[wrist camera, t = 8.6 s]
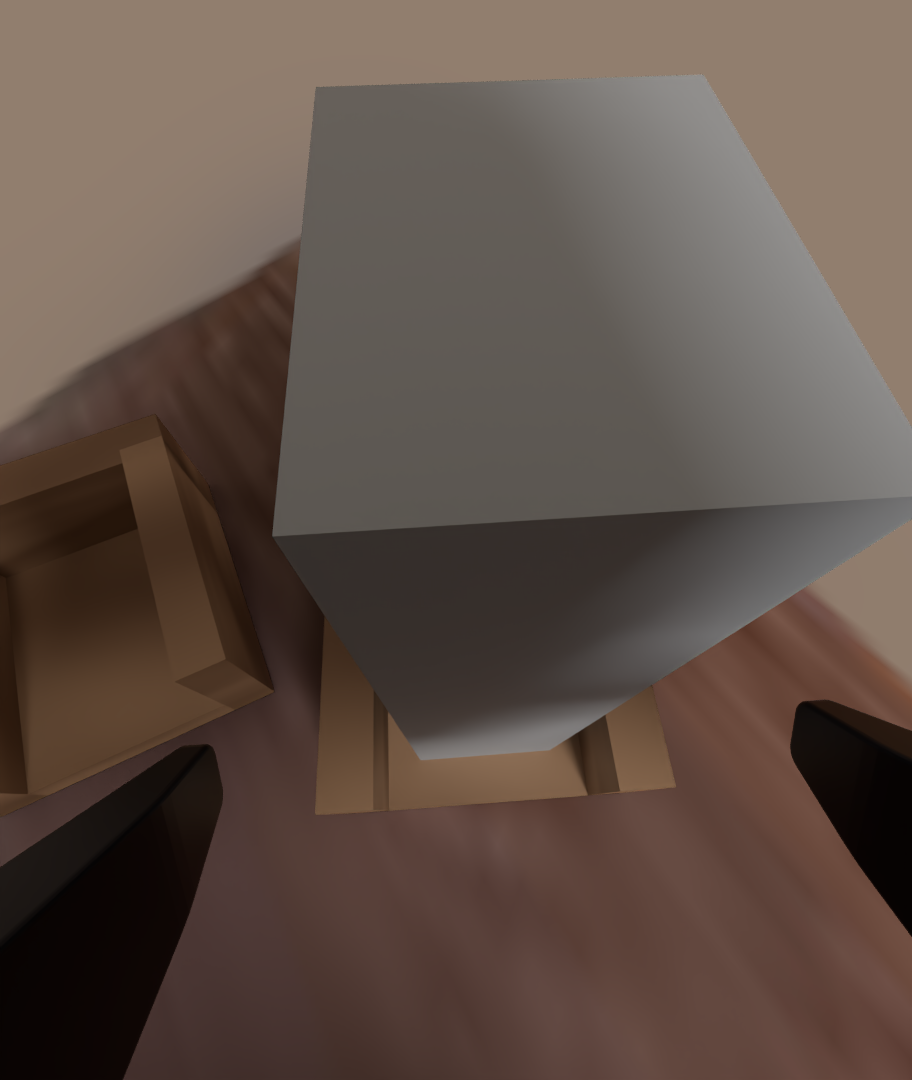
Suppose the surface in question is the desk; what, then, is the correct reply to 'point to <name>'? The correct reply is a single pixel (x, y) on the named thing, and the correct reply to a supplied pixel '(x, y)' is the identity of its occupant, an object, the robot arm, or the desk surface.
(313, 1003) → the desk surface
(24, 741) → the end cap
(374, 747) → the end cap
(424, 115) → the slat
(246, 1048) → the desk surface
